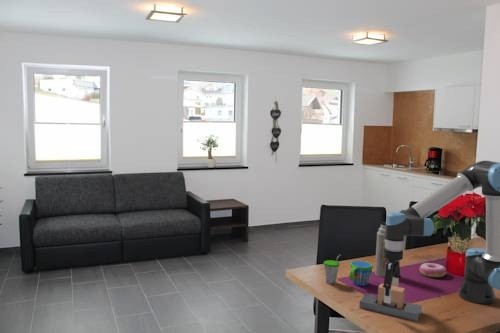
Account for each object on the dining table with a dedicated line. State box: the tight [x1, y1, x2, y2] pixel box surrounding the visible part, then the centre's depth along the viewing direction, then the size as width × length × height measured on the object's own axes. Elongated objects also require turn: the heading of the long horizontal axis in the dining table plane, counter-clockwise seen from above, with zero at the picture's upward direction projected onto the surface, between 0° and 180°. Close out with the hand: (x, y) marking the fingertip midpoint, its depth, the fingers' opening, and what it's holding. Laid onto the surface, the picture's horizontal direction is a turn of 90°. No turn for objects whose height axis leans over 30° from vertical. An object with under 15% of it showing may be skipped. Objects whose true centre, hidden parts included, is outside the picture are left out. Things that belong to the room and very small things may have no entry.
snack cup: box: [348, 260, 373, 287], centre depth 223 cm, size 16×10×10 cm
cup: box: [323, 254, 342, 285], centre depth 223 cm, size 8×8×15 cm
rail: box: [358, 293, 423, 322], centre depth 193 cm, size 24×10×3 cm, turn 60°
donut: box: [418, 262, 447, 278], centre depth 239 cm, size 14×13×5 cm
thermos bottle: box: [374, 221, 389, 278], centre depth 236 cm, size 8×8×28 cm
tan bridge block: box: [377, 283, 406, 309], centre depth 193 cm, size 10×5×10 cm, turn 60°
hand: (391, 297), depth 192 cm, fingers open, 13 cm apart
